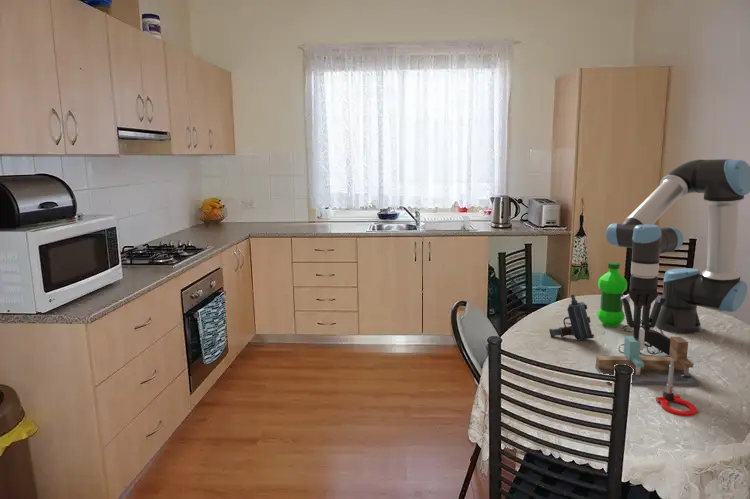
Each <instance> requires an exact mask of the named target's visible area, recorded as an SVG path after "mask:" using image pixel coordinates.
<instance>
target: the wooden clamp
mask: <svg viewBox="0 0 750 499" xmlns="http://www.w3.org/2000/svg"><path fill="white" fill-rule="evenodd" d="M670 338H671V340H670V353H669V356H640V357H639V358H640V359H641V360H642V361H643V362H644V367H640V369H655V370H669V365H670V362H671V358H673V359H674V364H673V366H674V370H684V376H688V374H689V373H690V368H694V363H693V362H692V361H691V360H689V359H688V350H689V349H688V348H689V341H687V340H686V339H685V338H683V337H682V336H670ZM595 357H596V358H595V365H597V367H598V368H599V369H614V365H616V364H626V365H629V366H631V367H632V368H633V369H636V365H635V364H634V363H633V362H632V361H631V360H629V359H628V358H627V357H626V356H625V355H624V356H622V355H620V356H619V355H618V356H617V355H596V356H595Z"/></svg>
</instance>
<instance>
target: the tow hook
mask: <svg viewBox="0 0 750 499" xmlns="http://www.w3.org/2000/svg"><path fill="white" fill-rule="evenodd" d="M673 364H674V359H673V358H671V362H670V365H669V372H668V382H667V384H666V385H665V391H663V393H662V396H657V397H655V402H656V403H659V404H660V406H661V408H662V409H663V410H665V411H666V412H667V413H669V414H673V415H677V416H681V417H692V416H694V415H696V414H697V411H698V408H697V406H696V405H695V404H694V403H692V402H690V401H688V400H685V399H682V398H681V396H680V395H679V394H677V395H675V394H674V393H673V386H674V385H672V381H673V372H674V366H673ZM670 402H675V403H676V404H681V405H683V406H686V407H687V408H689V409H688V410H678V409H675V408H673V407H671V406H669V403H670Z"/></svg>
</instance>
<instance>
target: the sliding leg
mask: <svg viewBox="0 0 750 499" xmlns="http://www.w3.org/2000/svg"><path fill="white" fill-rule="evenodd" d="M623 340H624V341H623V355H624V356H626V357H627V358H628V359H629V360H631V361H632V362H633V363H634V364H635V365H636V375H640V367H644V362H643V361H642V360H641V359H640V358H639V357H641V356H640V353H641V350H640V341H639V340H638V339H635V338H634V337H633V335H627V336H626V335H624V339H623Z"/></svg>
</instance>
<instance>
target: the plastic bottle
mask: <svg viewBox="0 0 750 499" xmlns="http://www.w3.org/2000/svg"><path fill="white" fill-rule="evenodd" d="M620 267H621V264H620V263H619V262H615V261H612V262H611V261H610V262H607V269H608V272H606V273H604V274H603V275H602V276H601V277H599V279H598V280H597V286H598V289H599V290H600V308H599V309H598V311H597V318H598V319H599V321H600V322H601V323H602V324H603V326H606V327H610V328H613V327H618V325H620V324H622V323H623V321H624V320H625V319H626V315H625V311H624V310H623V307H624V306H623V303H622V301H621V300H620V297H621V296H623V297H624V293H625V292H626V291H627V289H628V281H627V279H626V278H625V277H624V276H623V275H622V274H621V273H619V269H620Z"/></svg>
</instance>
